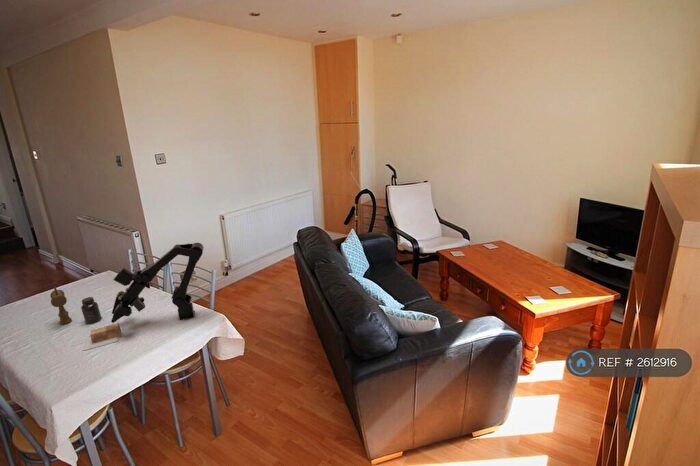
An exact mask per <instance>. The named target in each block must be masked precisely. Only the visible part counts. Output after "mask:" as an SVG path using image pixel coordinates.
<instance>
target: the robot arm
mask: <svg viewBox="0 0 700 466" xmlns="http://www.w3.org/2000/svg"><path fill="white" fill-rule="evenodd" d="M204 249H205V248H204V245H203V244H202V243H201V242H193V243H185V244H179V243H178V244H175V245H173V247H172V248H171V249H170V250H168V251H167V252H166V253H165V254H164V255H162V256H161V257H160V258H158V259H157V260H156V261H155V262H153V263H150V264H149V265H147V266H146V267H144V268H143V269H141V270H140V269H139V270H137V271H135V272H131V271H130V270H128V269H126V268H125V267H123V268H122V269H121V270H120V271H118V273H117V274H116V276H115V277H114V278H113V279H112V280H113V281H114V282H116V283H117V284H120V285H122V286H124V287H127V286H128V287H127V288H126V289H125V291H123V290H121V291H118V292H117V294H116V297H115V299H114V300H115V301H114V304H113V307H112V311H111V314H112V319H111V322H110V323H112V324H115V322H117V321H118V320H120V319H121V318H123V317H130V316H131V315H132V313H133V310H132V308H133V307H134V308H135V309H136V310H137V312H141V311H143V309H146V304H145V298H144V297H143V296H141V297H139V295H140V294H141V293H143V291H144V289H145V288H147V289H150V288H151V282H152V280H154V278H155V277H156V276H157V275H158V273H159V272H160V270H162V269H163V268H164V267H165V266H167V264H169V263H170V262H172V261H173V260H174V259H175V258H176V257H177V256H179V255H180V256H184V257H188V262H187V264H186V267H185V270H184V273H183V275H182V278H181V281H180V284H179V285H178V286H177V285H176V286H174V290H173V292H172V295H171V297H170V298H171V300H172V301H171V302H172V304H173V305H174V306H176V308H177V313H178V314H177V315H178V318H179V320H180V321H181V320H188V319H193V318H194V317H195V313H196V312H195V308H194V304H193V301H192V298H193V297H192V296H191V295H190V294H188V287H189V284H190V282H191V279H192V276H193V273H194V271H195V267H196V265H197V264H198V262H199V260H200V259H201V258H202V256H203V253H204Z"/></svg>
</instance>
